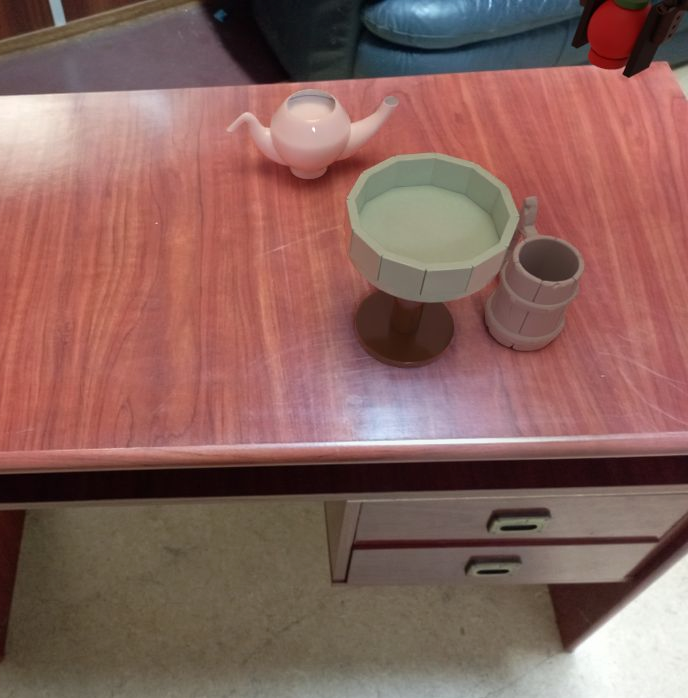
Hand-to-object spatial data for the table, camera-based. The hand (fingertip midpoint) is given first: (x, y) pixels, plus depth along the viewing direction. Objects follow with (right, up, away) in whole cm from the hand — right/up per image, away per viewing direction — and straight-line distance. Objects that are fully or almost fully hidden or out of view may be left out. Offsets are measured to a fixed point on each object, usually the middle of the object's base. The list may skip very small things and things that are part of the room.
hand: (609, 55), depth 68 cm
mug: (-6, -23, +8) cm, 26 cm away
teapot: (-26, -5, +23) cm, 35 cm away
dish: (-18, -26, +7) cm, 32 cm away
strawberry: (0, 0, 0) cm, 0 cm away
